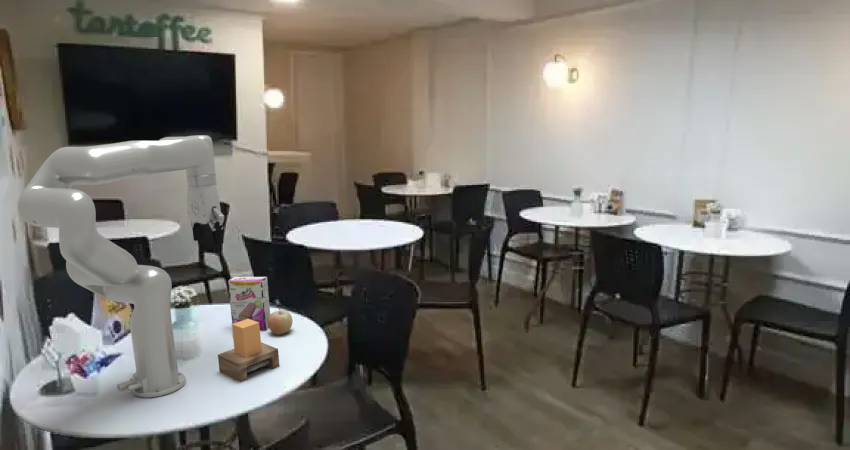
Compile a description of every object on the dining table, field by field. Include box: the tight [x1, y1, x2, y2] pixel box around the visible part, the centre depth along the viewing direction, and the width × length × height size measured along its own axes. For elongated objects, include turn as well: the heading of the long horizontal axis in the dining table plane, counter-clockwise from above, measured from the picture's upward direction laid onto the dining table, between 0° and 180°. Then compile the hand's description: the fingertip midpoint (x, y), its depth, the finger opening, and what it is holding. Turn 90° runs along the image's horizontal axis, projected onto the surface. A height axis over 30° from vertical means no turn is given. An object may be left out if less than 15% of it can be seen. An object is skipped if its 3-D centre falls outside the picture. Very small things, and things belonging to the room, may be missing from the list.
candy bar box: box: [227, 276, 271, 331], centre depth 192 cm, size 11×5×16 cm, turn 84°
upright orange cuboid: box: [231, 319, 262, 357], centre depth 162 cm, size 5×5×8 cm
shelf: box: [217, 341, 281, 383], centre depth 163 cm, size 12×10×5 cm
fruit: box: [268, 307, 293, 336], centre depth 188 cm, size 8×7×8 cm
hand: (208, 242), depth 170 cm, fingers open, 9 cm apart
